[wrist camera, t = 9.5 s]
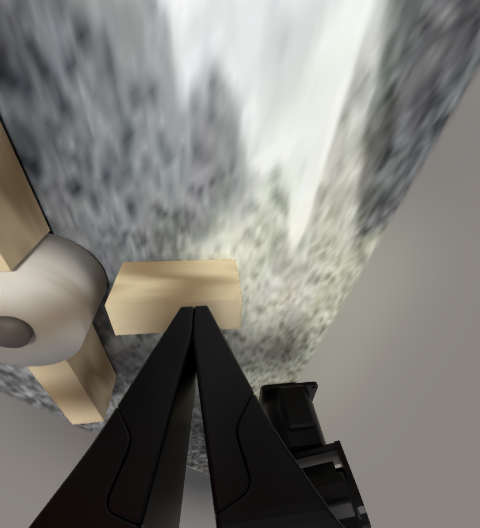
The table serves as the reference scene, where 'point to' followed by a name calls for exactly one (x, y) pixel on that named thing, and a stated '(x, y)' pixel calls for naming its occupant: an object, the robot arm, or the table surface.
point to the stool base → (49, 302)
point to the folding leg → (173, 294)
